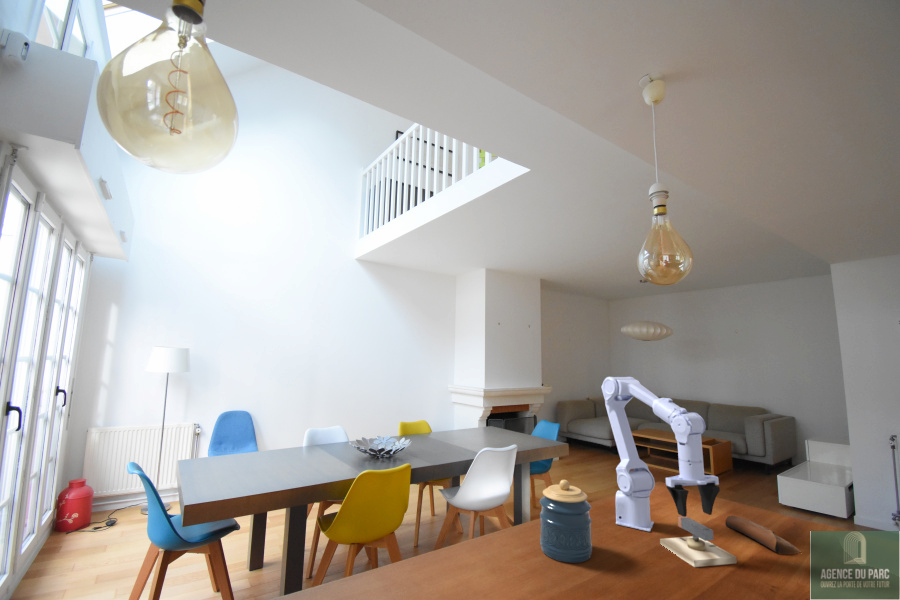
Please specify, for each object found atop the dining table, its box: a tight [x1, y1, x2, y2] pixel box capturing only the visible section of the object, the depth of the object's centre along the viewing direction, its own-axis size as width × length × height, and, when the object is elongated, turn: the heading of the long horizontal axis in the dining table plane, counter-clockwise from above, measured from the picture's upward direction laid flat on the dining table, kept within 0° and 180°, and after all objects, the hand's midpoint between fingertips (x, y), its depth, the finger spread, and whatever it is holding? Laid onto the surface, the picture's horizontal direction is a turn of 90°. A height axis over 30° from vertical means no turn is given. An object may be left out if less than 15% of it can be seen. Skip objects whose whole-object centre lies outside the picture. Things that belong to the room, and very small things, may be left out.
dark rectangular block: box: [677, 515, 715, 542], centre depth 107 cm, size 2×9×4 cm, turn 11°
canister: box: [539, 479, 593, 564], centre depth 107 cm, size 13×13×18 cm
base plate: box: [659, 535, 738, 568], centre depth 106 cm, size 12×12×3 cm
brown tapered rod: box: [724, 515, 802, 555], centre depth 116 cm, size 18×7×7 cm
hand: (694, 514), depth 107 cm, fingers open, 7 cm apart
